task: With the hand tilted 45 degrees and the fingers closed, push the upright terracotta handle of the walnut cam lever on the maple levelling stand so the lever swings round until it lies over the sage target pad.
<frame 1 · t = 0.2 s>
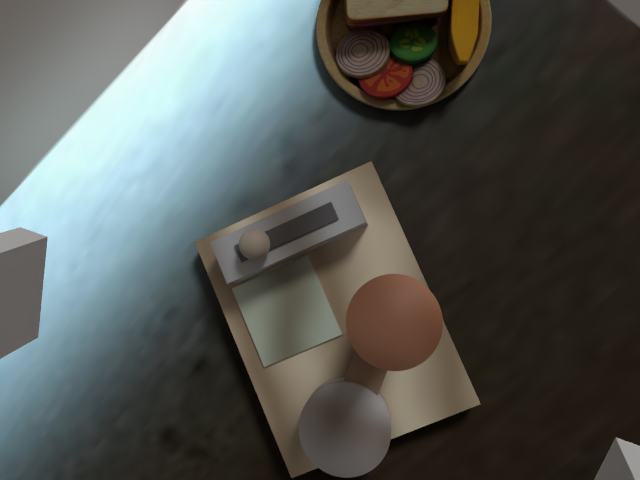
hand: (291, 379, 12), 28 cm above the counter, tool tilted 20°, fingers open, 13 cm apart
toy sandwich meal: (396, 25, 40), on the counter
lever: (361, 392, 30), point 10 cm above the counter, hinge at 45.0°
stand: (334, 316, 40), on the counter
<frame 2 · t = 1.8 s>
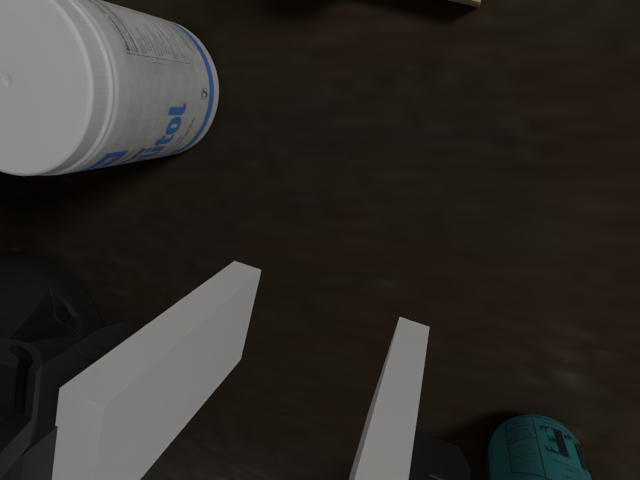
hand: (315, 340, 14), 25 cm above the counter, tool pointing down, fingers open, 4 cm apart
supplement tub: (165, 88, 40), on the counter
beverage bottle: (531, 436, 39), on the counter
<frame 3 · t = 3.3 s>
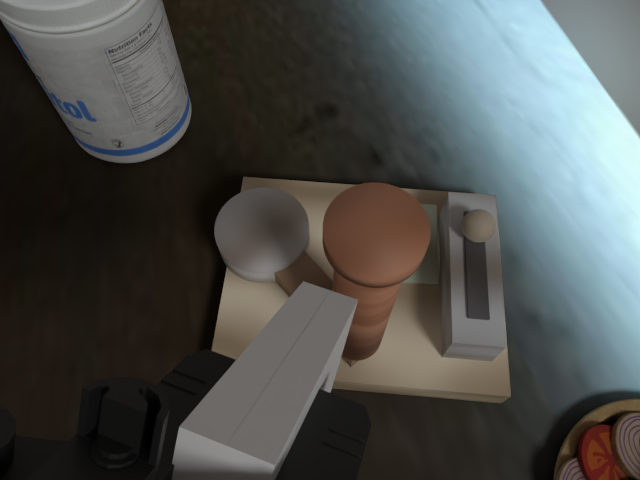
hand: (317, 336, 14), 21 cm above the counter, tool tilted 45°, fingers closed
lever: (298, 230, 28), point 10 cm above the counter, hinge at 45.0°
supplement tub: (136, 122, 44), on the counter
stand: (361, 287, 37), on the counter
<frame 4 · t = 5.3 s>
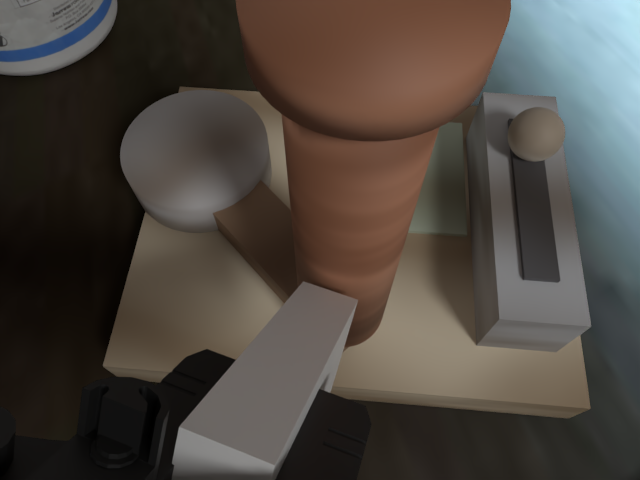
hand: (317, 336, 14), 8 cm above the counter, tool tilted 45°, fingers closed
lever: (235, 117, 16), point 10 cm above the counter, hinge at 46.1°, touching gripper
supplement tub: (43, 27, 32), on the counter
stand: (350, 243, 25), on the counter
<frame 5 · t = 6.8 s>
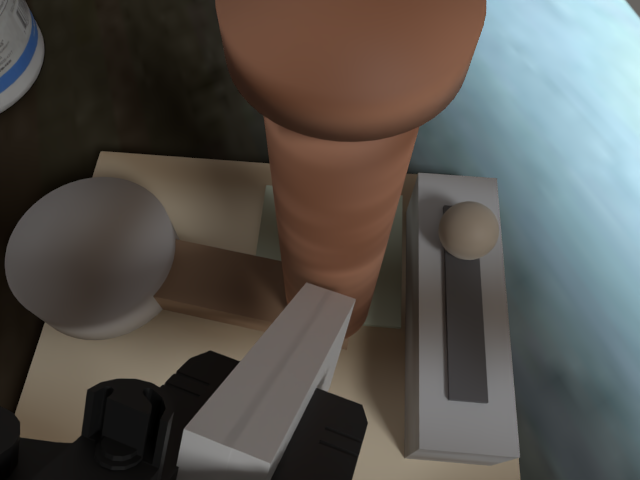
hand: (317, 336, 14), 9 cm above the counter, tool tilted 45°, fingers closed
lever: (156, 189, 15), point 10 cm above the counter, hinge at 82.1°, touching gripper
stand: (281, 327, 23), on the counter
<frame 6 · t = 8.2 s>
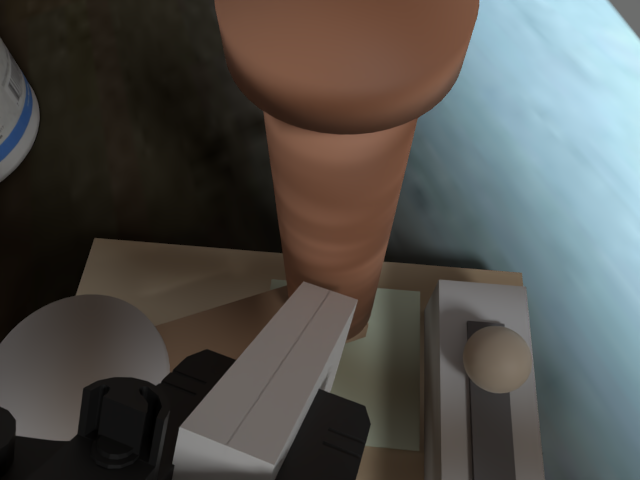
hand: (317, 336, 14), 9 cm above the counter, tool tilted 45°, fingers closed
lever: (150, 278, 14), point 10 cm above the counter, hinge at 114.0°
stand: (287, 437, 21), on the counter
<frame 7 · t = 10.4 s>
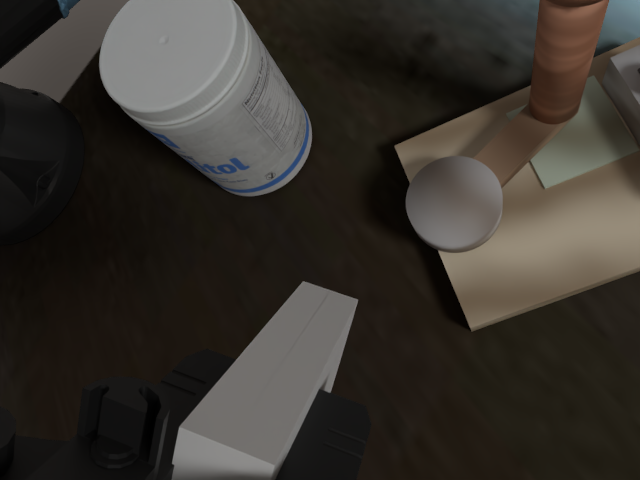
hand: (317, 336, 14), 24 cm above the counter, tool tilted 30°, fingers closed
lever: (497, 116, 29), point 10 cm above the counter, hinge at 114.0°
supplement tub: (263, 147, 45), on the counter
stand: (557, 188, 37), on the counter
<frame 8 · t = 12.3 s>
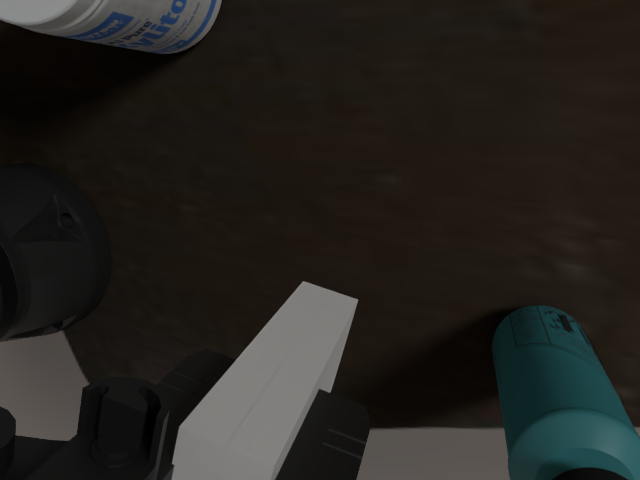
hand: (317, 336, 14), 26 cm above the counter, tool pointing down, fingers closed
beverage bottle: (535, 333, 40), on the counter
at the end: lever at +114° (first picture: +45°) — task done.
